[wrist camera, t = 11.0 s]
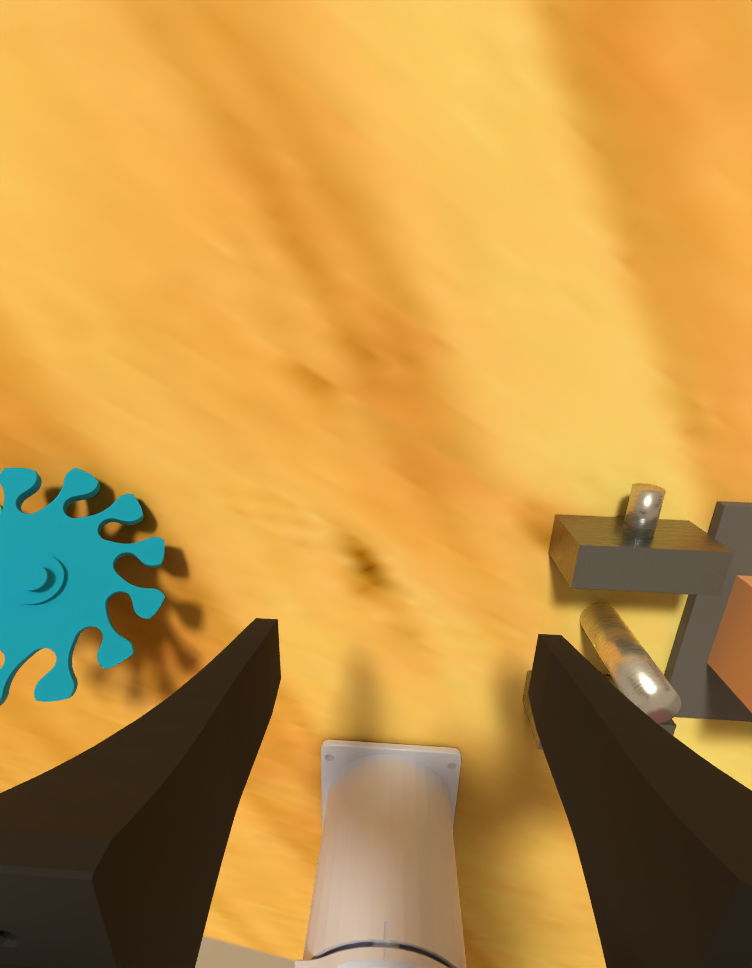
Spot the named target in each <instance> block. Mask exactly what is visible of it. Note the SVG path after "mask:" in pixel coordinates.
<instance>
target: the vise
mask: <svg viewBox="0 0 752 968" xmlns="http://www.w3.org/2000/svg"><path fill="white" fill-rule="evenodd" d="M665 492H666V491H665V489H663V488H661V487H658V486H655V485H651V484H644V483H636V484H633V485H632V489H631V493H630V498H629V502H628V506H627V510H626V515H625V518H618V517H596V516H574V515H555V520H554V526H553V532H552V537H551V543H550V549H549V554H550V556H551V558H552V559H553V561H554V562H555V564H556V565H557V567H558V569H559V570H560V572H561V573H562V575H563V576H564V578H565V580H566V581H567V583H568V584H569V586H570V588H579V589H598V590H618V591H637V592H656V593H675V594H695V595H714V596H720V593H721V590H722V587H723V584H724V581H725V578H726V576H727V573H728V570H729V567H730V564H731V561H732V558H733V555H734V552H733V551H732V550H730V549H729V548H727V547H726V546H724V545H723V544H722V543H720V542H719V541H717V540H716V539H714V538H713V537H711V536H710V535H709V534H707V533H706V532H704V531H703V530H701V529H700V528H699V527H697V526H696V525H694V524H693V523H691V522H690V521H684V520H662V519H658V518H659V515H660V511H661V507H662V503H663V499H664V496H665ZM580 624H581V626H582V628H583V629H584V631H585V633H586V634H587V636H588V638H589V639H590V641H591V643H592V644H593V646H594V648H595V650H596V651H597V653H598V655H599V656H600V658H601V660H602V661H603V663H604V665H605V667H606V668H607V670H608V672H609V673H610V675H611V676H609V675H603V676H604V677H605V678H606V679H607V680H608V681H609V682H610V683H612V684H613V685H614V686H615V687H616V688H617V689H618V690H619V691H620V692H621V693H622V694H624V695H625V696H626V697H627V698H628V699H629V700H630V701H631V702H633V703H634V704H635V705H636V706H637V707H638V708H640V709H641V710H642V711H643V712H644V713H645V714H647V715H648V716H649V717H650V718H651V719H653V720H654V721H655V722H656V723H657V724H659V725H660V726H661V727H662V728H664V729H665V730H666V731H667V732H669V733H670V734H671V735H672V736H673V734H674V731H675V728H676V724H675V723H674V721H673V720H672V718H673V717H674V716H675V715H676V714H677V713H678V712H679V710H680V708H681V699H680V697H679V695H678V694H677V693H676V691H675V690H674V689H673V687H672V686H671V684H670V683H669V682H668V680H667V679H666V678H665V676H664V675H663V674H662V672H661V671H660V670H659V668H658V667H657V666H656V664H655V663H654V661H653V660H652V659H651V657H650V656H649V655H648V653H647V652H646V651H645V649H644V648H643V647H642V645H641V644H640V643H639V641H638V640H637V638H636V637H635V636H634V634H633V633H632V632H631V630H630V629H629V628H628V626H627V625H626V624H625V622H624V621H623V620H622V618H621V617H620V616H619V614H618V613H617V611H616V610H615V609H614V608H613V607H612V606H611V605H609V604H606V603H596V604H592V605H590V606H588V607H587V608H586V609H585V610H584V611H583V612H582V614H581V616H580ZM531 673H532V671H528V673H527V678H526V684H525V689H524V695H523V703H524V706H525V709H526V712H527V715H528V719H529V722H530V725H531V728H532V731H533V734H534V737H535V740H536V744H537V747H538V749H543V748H542V745H541V742H540V739H539V736H538V734H537V731H536V727H535V722H534V718H533V714H532V710H531V705H530V700H529V696H528V690H529V684H530V679H531Z"/></svg>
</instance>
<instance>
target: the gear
mask: <svg viewBox="0 0 752 968" xmlns="http://www.w3.org/2000/svg"><path fill="white" fill-rule="evenodd" d="M0 483H1V485H2V487H3V491H4V505H3V506H1V505H0V650H1V651H2V652H3V653H4V655H5V662H4V665H3V666H2V668H1V669H0V705H2V704H3V703H4V701H5V700H6V699H7V696H8V694H9V689H10V685H11V682H12V680H13V678H14V676H15V674H16V672H17V671H18V670H19V668H20V667H21V666H22V665H23V664H24V663H25V662H26V661H27V660H28V659H29V658H30V657H31V656H33V655H34V654H35V653H36V652H37V651H39V650H40V649H43V648H49V649H51V650H53V651H54V652H55V654H56V657H57V661H56V664H55V666H54V668H53V669H52V670H51V671H50V672H48V673H47V674H46V675H45V676H44V677H43V678H42V679H41V680H40V681H39V682H38V684H37V685H36V688H35V692H34V695H35V699H36V700H37V701H42V702H50V701H58V700H63V699H67V698H70V697H71V696H73V694H74V693H75V691H76V689H77V684H78V683H77V678H76V676H75V674H74V671H73V668H72V654H73V650H74V647H75V644H76V642H77V639H78V637H79V635H80V633H81V632H82V631H83V630H85V629H86V628H88V627H96V628H98V629H100V630H101V632H102V634H103V640H102V643H101V646H100V648H99V651H98V654H97V659H98V662H99V664H100V665H101V666H102V667H103V668H104V669H107V668H111V667H113V666H115V665H117V664H119V663H121V662H122V661H124V660H126V659H127V658H128V657H130V656H131V655H132V654H134V646H133V644H132V642H131V641H130V640H128V639H126V638H125V637H123V636H122V635H120V634H119V633H118V632H117V631H116V630H115V628H114V627H113V625H112V623H111V621H110V617H109V613H108V607H107V604H108V601H109V599H110V598H111V597H112V596H113V595H115V594H117V593H127V594H129V595H130V597H131V599H132V603H133V608H134V611H135V613H136V614H137V615H138V616H140V617H142V618H145V619H150V618H152V617H153V616H154V615H155V614H156V613H157V611H158V610H159V608H160V607H161V605H162V603H163V601H164V599H165V596H164V594H163V593H162V592H161V591H159V590H157V589H153V588H141V587H137V586H134V585H132V584H130V583H128V582H126V581H125V580H124V579H123V578H122V577H120V576H119V575H118V574H117V572H116V570H115V564H116V561H117V560H118V559H119V558H120V557H122V556H125V555H133V556H135V557H136V558H137V559H139V560H140V561H141V562H142V563H143V564H144V565H145V566H147V567H151V568H155V567H159V566H162V563H163V561H164V556H165V546H164V540H163V539H161V538H158V537H151V538H148V539H146V540H143V541H140V542H137V543H130V544H122V543H116V542H112V541H108V540H104V539H102V538H101V536H100V531H101V528H102V527H103V526H104V525H105V524H107V523H110V522H118V523H122V524H126V525H134V524H137V523H139V522H141V521H142V520H143V519H144V517H143V512H142V509H141V506H140V504H139V502H138V501H137V499H136V498H135V497H134V495H133V494H126V495H123V496H120V497H119V498H118V499H117V500H116V501H115V502H114V503H113V504H112V505H111V506H110V507H109V508H107V509H105V510H104V511H102V512H100V513H97V514H95V515H91V516H87V517H82V518H71V517H68V516H67V508H68V506H69V505H70V504H71V503H73V502H75V501H79V500H85V499H89V498H92V497H94V496H95V495H96V494H97V493H98V492H99V490H100V487H101V486H100V484H99V482H98V481H97V480H96V478H95V477H93V476H92V475H90V474H89V473H87V472H85V471H83V470H80V469H78V468H75V469H72V470H71V471H69V472H68V473H67V474H66V476H65V479H64V484H63V487H62V489H61V491H60V493H59V494H58V496H57V497H56V498H55V499H54V500H53V501H52V502H51V503H50V504H48V505H47V506H46V507H44V508H43V509H41V510H40V511H38V512H36V513H33V514H25V513H23V512H22V510H21V505H22V503H23V502H24V500H26V499H27V498H28V497H30V496H31V495H33V494H34V493H36V492H37V491H38V490H39V488H40V486H41V478H40V476H39V475H38V474H37V472H36V471H34V470H31V469H26V468H4V469H3V470H2V472H1V474H0Z"/></svg>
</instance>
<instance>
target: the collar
mask: <svg viewBox="0 0 752 968" xmlns="http://www.w3.org/2000/svg"><path fill="white" fill-rule="evenodd" d="M707 663H708V664H709V666H710V667H711V668H712V669H713V670H714V671H715V672H716V673H717V675H718V676H719V677H720V678H721V679H722V680H723V681H724V682H725V684H726V685H727V686H728V687H729V688H730V689H731V690H732V691H733V692H734V694H735V695H736V696H737V697H738V698H739V699H740V700H741V701H742V703H743V704H744V705H745V706H746V707H747V708H748V709H749V710H750V712H751V713H752V576H742V575H737V576H736V579H735V581H734V584H733V587H732V590H731V593H730V596H729V599H728V602H727V605H726V608H725V611H724V614H723V617H722V619H721V622H720V625H719V628H718V631H717V634H716V637H715V640H714V643H713V646H712V649H711V652H710V654H709V657H708V660H707Z"/></svg>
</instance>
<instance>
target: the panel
mask: <svg viewBox="0 0 752 968" xmlns="http://www.w3.org/2000/svg"><path fill="white" fill-rule="evenodd" d="M708 534H709V535H710V536H711V537H713V538H714V539H716V540H717V541H719V542H720V543H722V544H723V545H724V546H726V547H727V548H729V549H730V550H732V551H733V552H734V555H733V558H732V561H731V564H730V567H729V570H728V573H727V576H726V578H725V581H724V584H723V587H722V590H721V593H720V596H714V595H695V594H689V596H688V600H687V603H686V606H685V609H684V613H683V616H682V619H681V623H680V626H679V629H678V632H677V636H676V639H675V642H674V645H673V649H672V652H671V655H670V658H669V662H668V665H667V668H666V671H665V675H664V676H665V678H666V679H667V680H668V682H669V683H670V684H671V686H672V687H673V689H674V690H675V691H676V693H677V694H678V695H679V697H680V699H681V708H680V710H679V712H678V713H677V714H676V715H675V716H674V717H686V718H702V719H718V720H734V721H750V722H752V713H751V712H750V710H749V709H748V708H747V707H746V706H745V705H744V704H743V703H742V701H741V700H740V699H739V698H738V697H737V696H736V695H735V694H734V692H733V691H732V690H731V689H730V688H729V687H728V686H727V685H726V684H725V682H724V681H723V680H722V679H721V678H720V677H719V676H718V675H717V673H716V672H715V671H714V670H713V669H712V668H711V667H710V666H709V664H708V663H707V660H708V657H709V654H710V652H711V649H712V646H713V643H714V640H715V637H716V634H717V631H718V628H719V625H720V622H721V619H722V617H723V614H724V611H725V608H726V605H727V602H728V599H729V596H730V593H731V590H732V587H733V584H734V581H735V579H736V576H737V575H742V576H752V503H742V502H720V501H718V502H717V505H716V508H715V512H714V515H713V518H712V522H711V525H710V528H709V531H708Z"/></svg>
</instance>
